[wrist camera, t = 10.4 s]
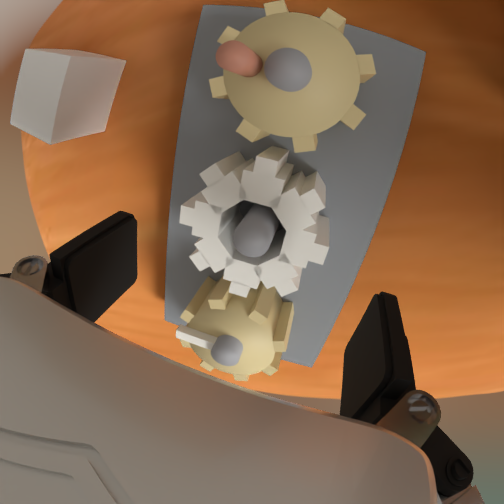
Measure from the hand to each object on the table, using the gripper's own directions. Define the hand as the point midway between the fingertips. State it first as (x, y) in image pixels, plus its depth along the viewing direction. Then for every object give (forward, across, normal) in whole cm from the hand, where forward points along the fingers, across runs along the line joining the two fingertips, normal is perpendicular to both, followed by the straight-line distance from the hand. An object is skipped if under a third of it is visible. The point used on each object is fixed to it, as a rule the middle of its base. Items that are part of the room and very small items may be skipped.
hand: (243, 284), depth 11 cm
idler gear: (+8, +1, 0) cm, 8 cm away
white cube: (+10, +17, -6) cm, 21 cm away
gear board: (+10, +1, 0) cm, 10 cm away
